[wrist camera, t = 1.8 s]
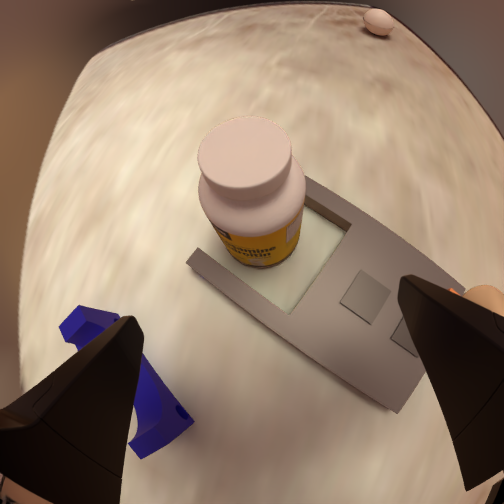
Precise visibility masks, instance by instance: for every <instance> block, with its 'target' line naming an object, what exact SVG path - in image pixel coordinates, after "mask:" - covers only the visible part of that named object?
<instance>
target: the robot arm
mask: <svg viewBox="0 0 504 504" xmlns="http://www.w3.org/2000/svg"><path fill="white" fill-rule="evenodd" d="M397 300H398V304H399V307H400V309H401V312H402V314H403V317H404V320H405V323H406V325H407V328H408V331H409V334H410V336H411V339H412V341H413V344H414V346H415V348H416V350H417V352H418V354H419V356H420V359H421V361H422V363H423V365H424V368H425V370H426V372H427V375H428V377H429V379H430V382H431V384H432V387H433V389H434V391H435V394H436V397H437V399H438V402H439V404H440V407H441V410H442V412H443V415H444V418H445V421H446V424H447V426H448V429H449V432H450V435H451V438H452V441H453V445H454V449H455V452H456V455H457V459H458V462H459V466H460V470H461V474H462V478H463V482H464V486H465V490H466V492H467V491H469V490H471V489H473V488H474V487H476V486H478V485H480V484H481V483H483V482H485V481H486V480H488V479H490V478H491V477H493V476H494V475H496V474H497V473H499V472H500V471H502V470H503V473H504V317H503V316H501V315H499V314H497V313H495V312H492V311H491V310H489V309H487V308H485V307H483V306H481V305H479V304H477V303H475V302H472V301H470V300H468V299H466V298H464V297H462V296H460V295H458V294H455V293H453V292H451V291H449V290H447V289H445V288H442V287H440V286H438V285H436V284H433V283H431V282H429V281H427V280H424V279H422V278H420V277H418V276H415V275H413V274H409V275H404V276H402V277H401V278H400V282H399V289H398V295H397ZM143 344H144V334H143V331H142V330H141V328H140V326H139V324H138V322H137V320H136V318H135V317H134V316H123V317H121V318H120V319H119V320H117V321H116V322H115V323H113V324H112V325H111V326H110V327H108V328H107V329H106V330H104V331H103V332H102V333H101V334H99V335H98V336H97V337H96V338H94V339H93V340H92V341H91V342H89V343H88V344H87V345H85V346H84V347H83V348H82V349H80V350H79V351H78V352H77V353H75V354H74V355H73V356H72V357H70V358H69V359H68V360H67V361H66V362H64V363H63V364H62V365H61V366H59V367H58V368H57V369H56V370H55V371H53V372H52V373H51V374H50V375H48V376H47V377H46V378H45V379H43V380H42V381H41V382H40V383H38V384H37V385H36V386H34V387H33V388H32V389H30V390H29V391H28V392H26V393H25V394H23V395H22V396H21V397H19V398H18V399H17V400H16V401H14V402H12V403H11V404H10V405H8V406H7V407H5V408H3V409H0V504H120V494H121V484H122V479H121V478H122V474H123V466H124V459H125V452H126V445H127V439H128V433H129V427H130V421H131V416H132V410H133V405H134V400H135V395H136V390H137V386H138V381H139V376H140V369H141V360H142V352H143ZM485 504H504V477H503V478H502V479H501V480H499V481H498V482H497V483H495V484H494V485H493V487H492V489H491V491H490V494H489V496H488V498H487V500H486V503H485Z"/></svg>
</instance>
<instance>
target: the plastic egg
mask: <svg viewBox="0 0 504 504" xmlns="http://www.w3.org/2000/svg"><path fill="white" fill-rule="evenodd" d="M363 20H364V24H365V27H366V28H367V29H368V30H369V31H370V32H372V33H374V34H376V35H381V36H384V35H387V34H389V33H390V32H391V31H392V30H393V28H394V23H393V20H392V18H391V16H390V15H389V14H388V13H386V12H385V11H383V10H380V9H371V10H369V11H367V12H366V13H365V15H364V17H363Z"/></svg>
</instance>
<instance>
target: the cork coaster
mask: <svg viewBox="0 0 504 504" xmlns="http://www.w3.org/2000/svg"><path fill="white" fill-rule="evenodd" d="M462 297H464V298H466V299H468V300H470V301H472V302H475V303H477V304H479V305H481V306H483V307H485V308H487V309H489V310H491V311H492V312H495V313H497V314H499V315H501V316H503V317H504V294H503V293H502V292H501V291H500V290H498V289H497V288H495V287H492V286H489V285H481V286H477V287H474V288H472V289H470V290H469V291H467V292H466V293H465V294H464V295H463V296H462Z"/></svg>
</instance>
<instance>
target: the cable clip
mask: <svg viewBox="0 0 504 504" xmlns="http://www.w3.org/2000/svg"><path fill="white" fill-rule="evenodd" d="M119 319H120V316H119V315H118V314H116V313H112V312H107V311H102V310H98V309H93V308H89V307H85V306H81V305H78V306H77V307H76V308H75V309H74V310H73V312H72V313H71V314H70V315H69V316H68V317H67V318H66V319H65V320H64V321H63V322H62V323H61V325H60V326H59V329H60V331H61V333H62V335H63V338H64V340H65V342H67V343H72V344H75V346H76V348H77V349H78V351H79V350H80V349H82V348H83V347H84V346H85V345H87V344H88V343H89V342H91V341H92V340H93V339H94V338H96V337H97V336H98V335H99V334H101V333H102V332H103V331H104V330H106V329H107V328H108V327H110V326H111V325H112V324H113V323H115V322H116V321H117V320H119ZM134 407H135V410H136V414H137V420H138V428H137V432H136V435H135V437H134V438H133V439H132V440H131V441H130V442H129V443H128V444H129V446H130V447H131V448H132V449H133V451H134V452H135V453H136V454H137V456H138V457H139V458H140V459H143V458H145V457H147V456H148V455H150V454H152V453H154V452H155V451H157V450H159V449H161V448H162V447H164V446H166V445H167V444H169V443H170V442H171V441H173V440H174V439H175V438H176V437H177V436H179V435H180V434H181V433H182V432H183V431H185V430H186V429H187V428H188V427H189V426H191V425H192V424H193V423H194V422H195V421H194V420H193V419H192V418H191V416H190V415H189V414H188V413H187V412H186V410H185V409H184V408H183V407H182V406H181V404H180V403H179V402H178V401H177V399H176V398H175V397H174V396H173V394H172V393H171V392H170V390H169V389H168V388H167V386H166V385H165V384H164V383H163V381H162V380H161V378H160V377H159V376H158V374H157V373H156V372H155V370H154V369H153V367H152V366H151V365H150V363H149V362H148V360H147V359H146V357H145V356H144V354H143V353H142V360H141V369H140V376H139V381H138V386H137V390H136V395H135V400H134Z"/></svg>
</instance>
